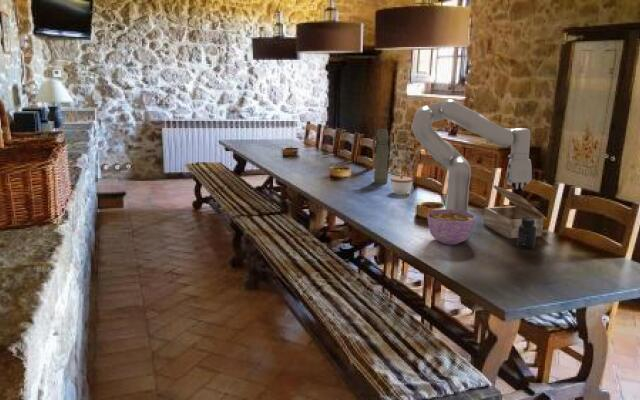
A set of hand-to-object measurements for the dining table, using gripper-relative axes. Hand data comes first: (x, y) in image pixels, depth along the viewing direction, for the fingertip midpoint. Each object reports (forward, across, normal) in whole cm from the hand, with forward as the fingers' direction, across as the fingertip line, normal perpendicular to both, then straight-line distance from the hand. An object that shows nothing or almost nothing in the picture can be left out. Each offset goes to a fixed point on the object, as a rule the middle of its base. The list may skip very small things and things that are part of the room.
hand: (517, 196), depth 226 cm
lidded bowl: (+14, -27, +80) cm, 85 cm away
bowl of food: (+15, -37, -10) cm, 41 cm away
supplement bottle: (+16, -9, -22) cm, 29 cm away
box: (+15, -2, 0) cm, 16 cm away
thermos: (+13, -30, +112) cm, 116 cm away
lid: (+3, 0, 0) cm, 3 cm away
